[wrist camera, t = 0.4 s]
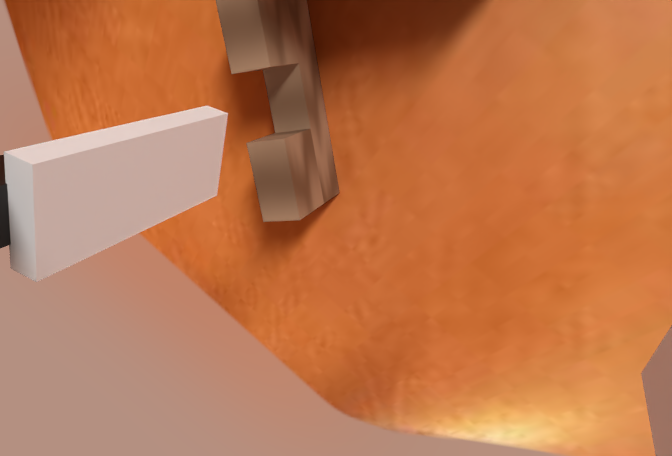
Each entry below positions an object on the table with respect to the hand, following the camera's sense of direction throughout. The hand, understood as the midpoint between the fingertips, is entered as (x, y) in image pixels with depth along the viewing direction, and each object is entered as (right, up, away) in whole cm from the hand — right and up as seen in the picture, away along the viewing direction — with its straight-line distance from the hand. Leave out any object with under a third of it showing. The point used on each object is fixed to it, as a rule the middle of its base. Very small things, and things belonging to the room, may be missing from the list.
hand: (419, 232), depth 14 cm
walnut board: (-5, +10, +26) cm, 29 cm away
